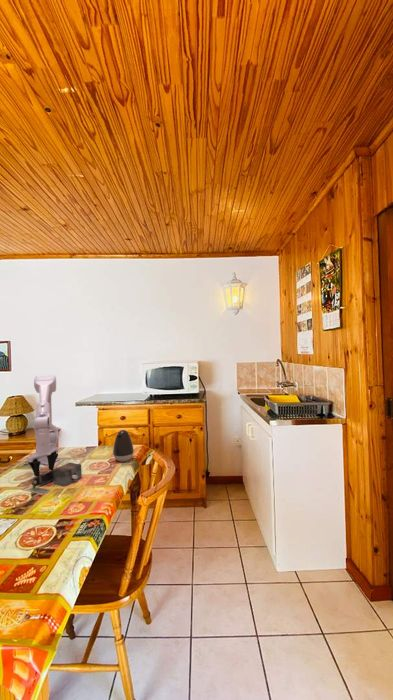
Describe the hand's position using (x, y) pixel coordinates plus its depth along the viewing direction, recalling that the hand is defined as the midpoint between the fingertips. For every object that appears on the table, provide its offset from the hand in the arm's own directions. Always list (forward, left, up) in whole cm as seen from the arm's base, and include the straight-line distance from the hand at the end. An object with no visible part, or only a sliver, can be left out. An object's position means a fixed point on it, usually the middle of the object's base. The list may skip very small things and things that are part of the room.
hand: (44, 472), depth 143 cm
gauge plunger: (+13, -2, -1) cm, 14 cm away
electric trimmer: (+5, -1, -2) cm, 5 cm away
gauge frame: (+11, -5, -2) cm, 12 cm away
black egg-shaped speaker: (+21, +30, -2) cm, 37 cm away
